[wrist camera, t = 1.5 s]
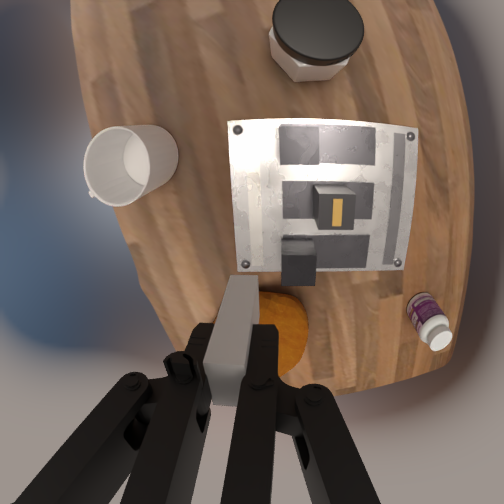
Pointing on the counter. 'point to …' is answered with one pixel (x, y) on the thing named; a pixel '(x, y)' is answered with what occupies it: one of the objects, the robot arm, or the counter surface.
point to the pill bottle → (429, 321)
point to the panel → (302, 190)
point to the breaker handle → (334, 207)
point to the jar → (314, 37)
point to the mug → (129, 162)
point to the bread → (285, 326)
